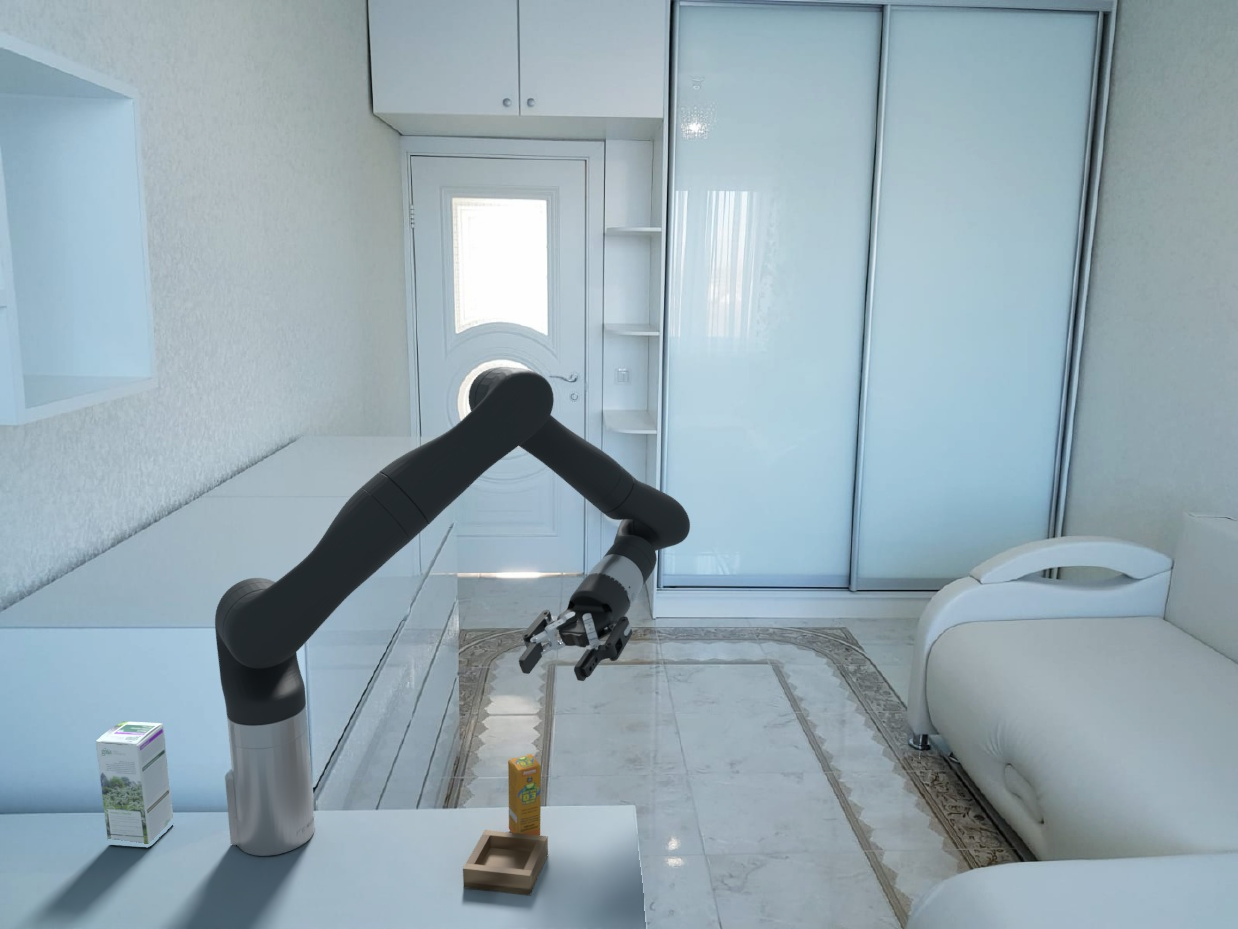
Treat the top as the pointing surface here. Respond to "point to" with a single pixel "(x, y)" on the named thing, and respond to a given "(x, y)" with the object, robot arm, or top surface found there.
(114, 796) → the syrup box
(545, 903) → the top surface
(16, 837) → the top surface
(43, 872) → the top surface
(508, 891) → the tray
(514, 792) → the supplement box
